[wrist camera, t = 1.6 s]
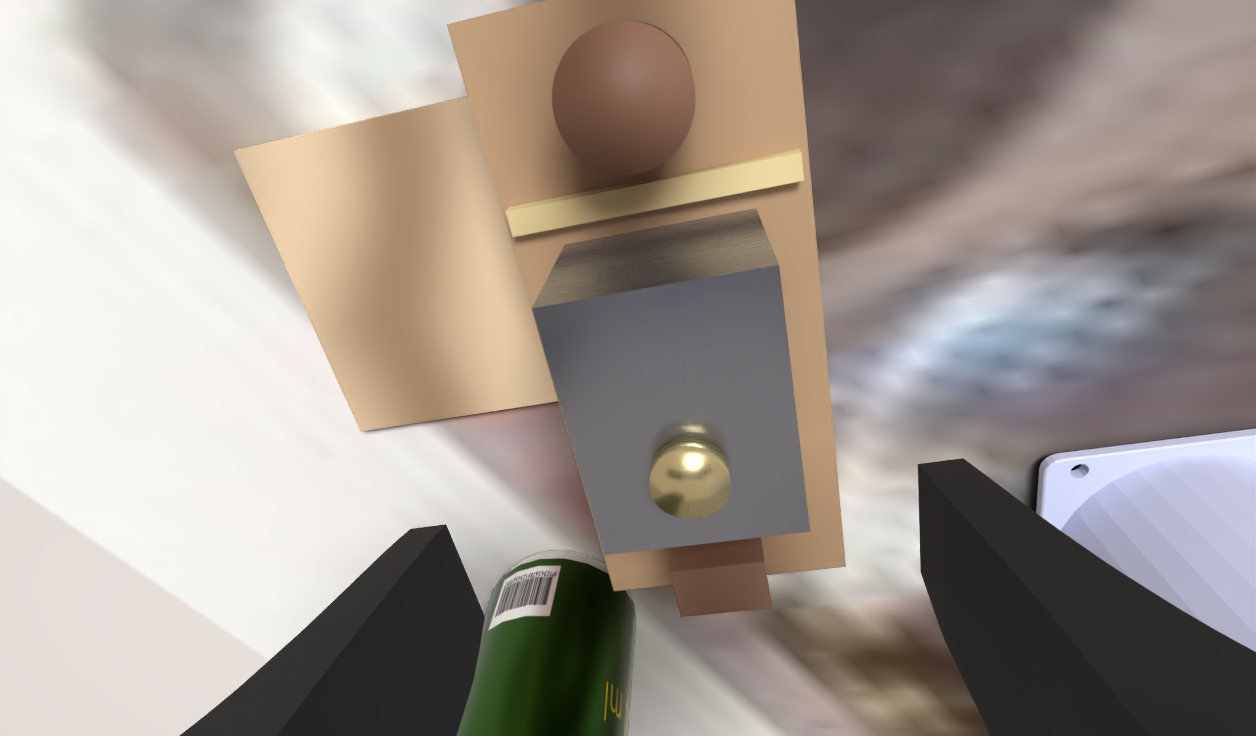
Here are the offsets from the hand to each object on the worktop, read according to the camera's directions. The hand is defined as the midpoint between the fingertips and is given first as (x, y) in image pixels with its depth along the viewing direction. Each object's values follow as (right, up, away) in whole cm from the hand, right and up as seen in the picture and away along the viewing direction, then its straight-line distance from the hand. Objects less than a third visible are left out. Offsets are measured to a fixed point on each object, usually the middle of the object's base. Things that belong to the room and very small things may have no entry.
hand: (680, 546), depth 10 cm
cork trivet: (-7, +5, +9) cm, 13 cm away
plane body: (+1, +5, +9) cm, 10 cm away
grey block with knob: (0, +3, +7) cm, 7 cm away
